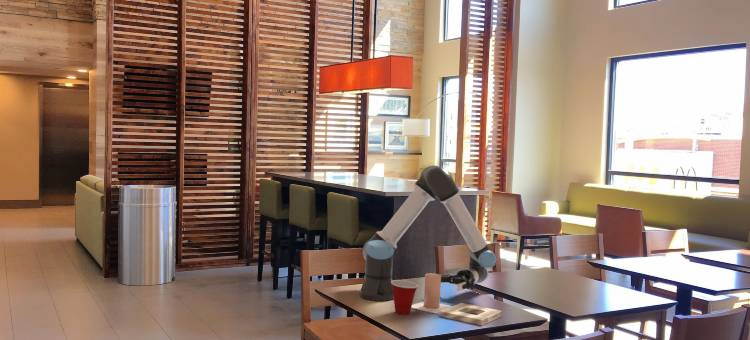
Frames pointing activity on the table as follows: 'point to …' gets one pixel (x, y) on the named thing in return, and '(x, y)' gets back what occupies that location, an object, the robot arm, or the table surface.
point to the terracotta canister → (432, 290)
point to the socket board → (482, 318)
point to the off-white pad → (421, 307)
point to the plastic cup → (403, 295)
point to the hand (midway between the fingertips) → (443, 285)
